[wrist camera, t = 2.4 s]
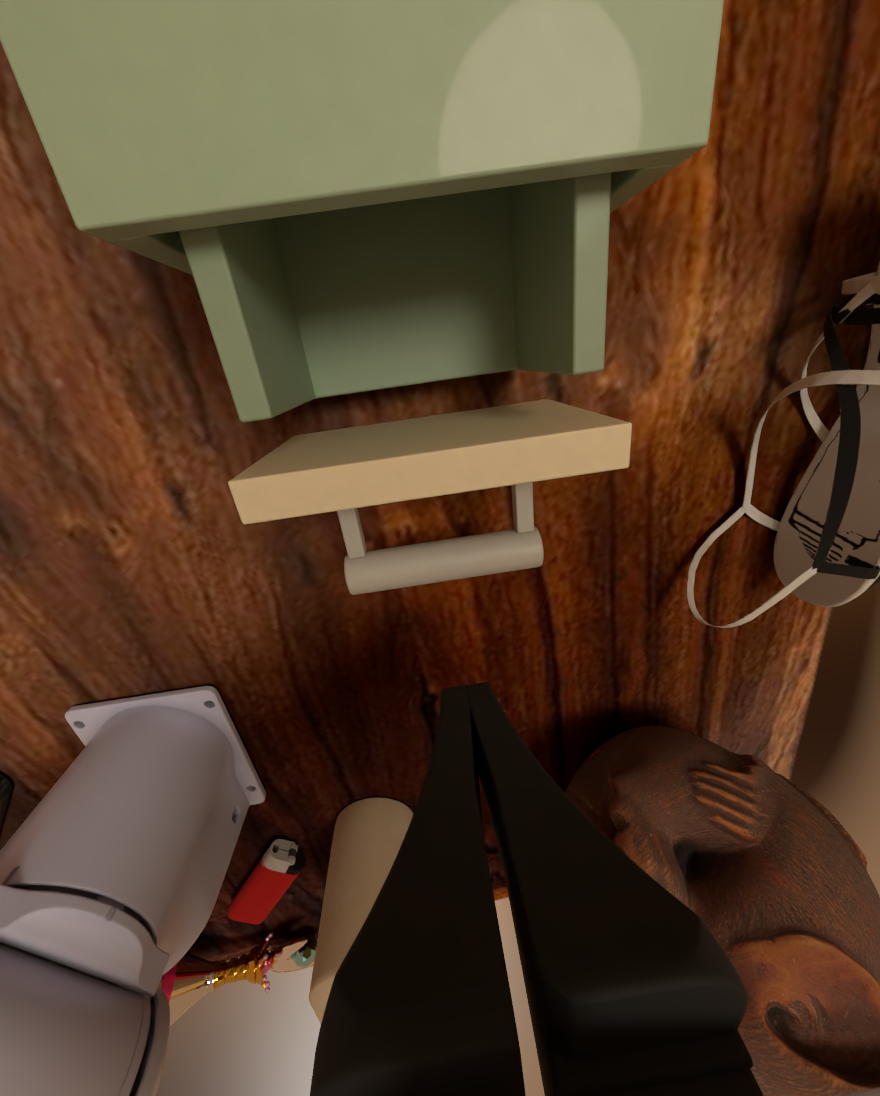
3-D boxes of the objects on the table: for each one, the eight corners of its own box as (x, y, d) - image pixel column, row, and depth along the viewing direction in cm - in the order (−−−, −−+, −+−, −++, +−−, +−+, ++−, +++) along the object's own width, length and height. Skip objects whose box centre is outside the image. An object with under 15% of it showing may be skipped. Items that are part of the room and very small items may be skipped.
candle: (388, 784, 27) (379, 1001, 18) (430, 827, 29) (442, 1039, 20) (318, 816, 28) (276, 1040, 19) (365, 855, 30) (347, 1072, 21)
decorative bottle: (61, 963, 32) (347, 894, 38) (5, 1126, 26) (353, 1013, 33) (18, 939, 28) (350, 865, 34) (-60, 1129, 22) (357, 998, 28)
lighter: (224, 918, 29) (267, 856, 27) (231, 897, 30) (273, 835, 28) (263, 926, 30) (308, 866, 27) (268, 905, 31) (312, 846, 29)
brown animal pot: (494, 818, 29) (570, 1209, 16) (532, 671, 24) (698, 1077, 10) (688, 816, 31) (905, 1166, 18) (765, 678, 26) (1165, 1034, 12)
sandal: (1071, -29, 10) (566, 364, 13) (1915, -41, 6) (830, 589, 8) (848, 382, 23) (614, 539, 26) (1046, 490, 18) (730, 670, 21)
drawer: (550, 521, 19) (620, 599, 13) (325, 554, 19) (287, 650, 13) (542, -14, 12) (691, -416, 6) (181, 32, 12) (-68, -332, 6)
